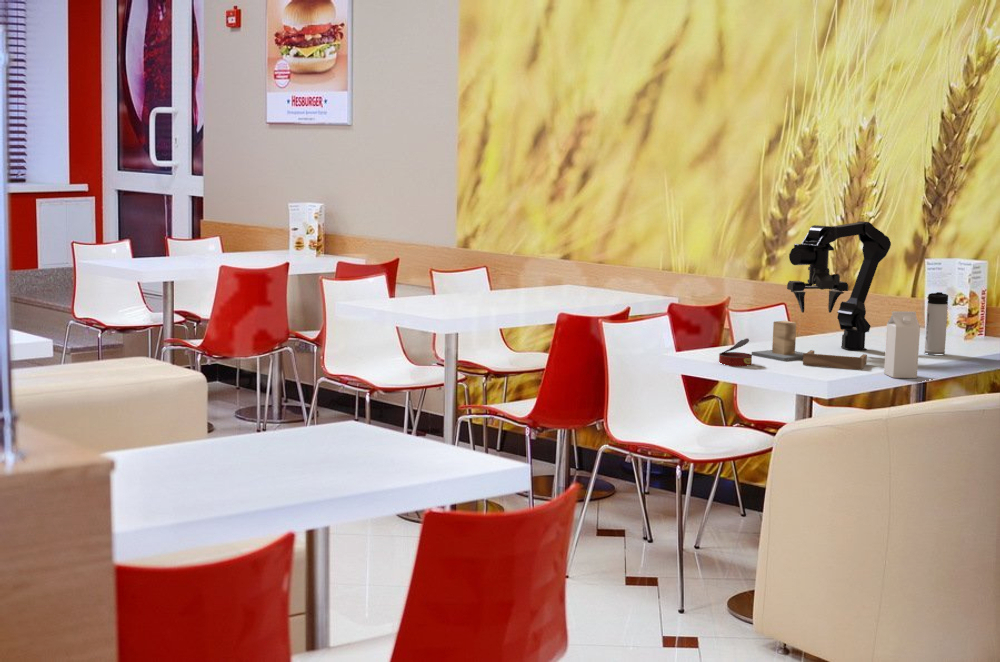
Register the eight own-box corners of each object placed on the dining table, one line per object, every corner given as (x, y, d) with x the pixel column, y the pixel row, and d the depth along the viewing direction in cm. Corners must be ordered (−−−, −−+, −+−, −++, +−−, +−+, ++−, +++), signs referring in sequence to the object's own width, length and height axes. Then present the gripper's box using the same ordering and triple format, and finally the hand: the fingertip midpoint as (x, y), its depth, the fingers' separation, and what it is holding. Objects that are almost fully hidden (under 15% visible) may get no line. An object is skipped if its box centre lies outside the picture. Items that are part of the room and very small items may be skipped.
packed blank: (783, 351, 411) (784, 320, 409) (794, 353, 407) (796, 322, 405) (772, 352, 408) (773, 321, 407) (783, 354, 404) (785, 323, 402)
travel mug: (945, 353, 420) (949, 292, 417) (943, 356, 414) (947, 294, 411) (925, 352, 422) (929, 291, 420) (923, 354, 416) (927, 293, 414)
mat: (782, 351, 417) (782, 348, 417) (815, 357, 405) (815, 354, 405) (751, 355, 409) (751, 351, 409) (783, 361, 398) (784, 358, 398)
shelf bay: (810, 359, 402) (810, 348, 401) (866, 364, 395) (867, 352, 394) (802, 364, 391) (803, 353, 391) (860, 369, 384) (861, 358, 384)
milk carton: (883, 374, 377) (887, 310, 374) (907, 374, 377) (911, 310, 375) (893, 378, 370) (897, 313, 367) (917, 378, 370) (921, 313, 368)
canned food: (731, 381, 387) (719, 353, 384) (719, 372, 397) (707, 345, 394) (764, 364, 388) (752, 336, 385) (751, 355, 397) (739, 328, 394)
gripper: (800, 266, 404) (797, 315, 407) (856, 267, 407) (853, 315, 409) (787, 263, 415) (785, 311, 418) (842, 264, 418) (840, 311, 420)
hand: (816, 312), depth 416 cm, fingers open, 9 cm apart
